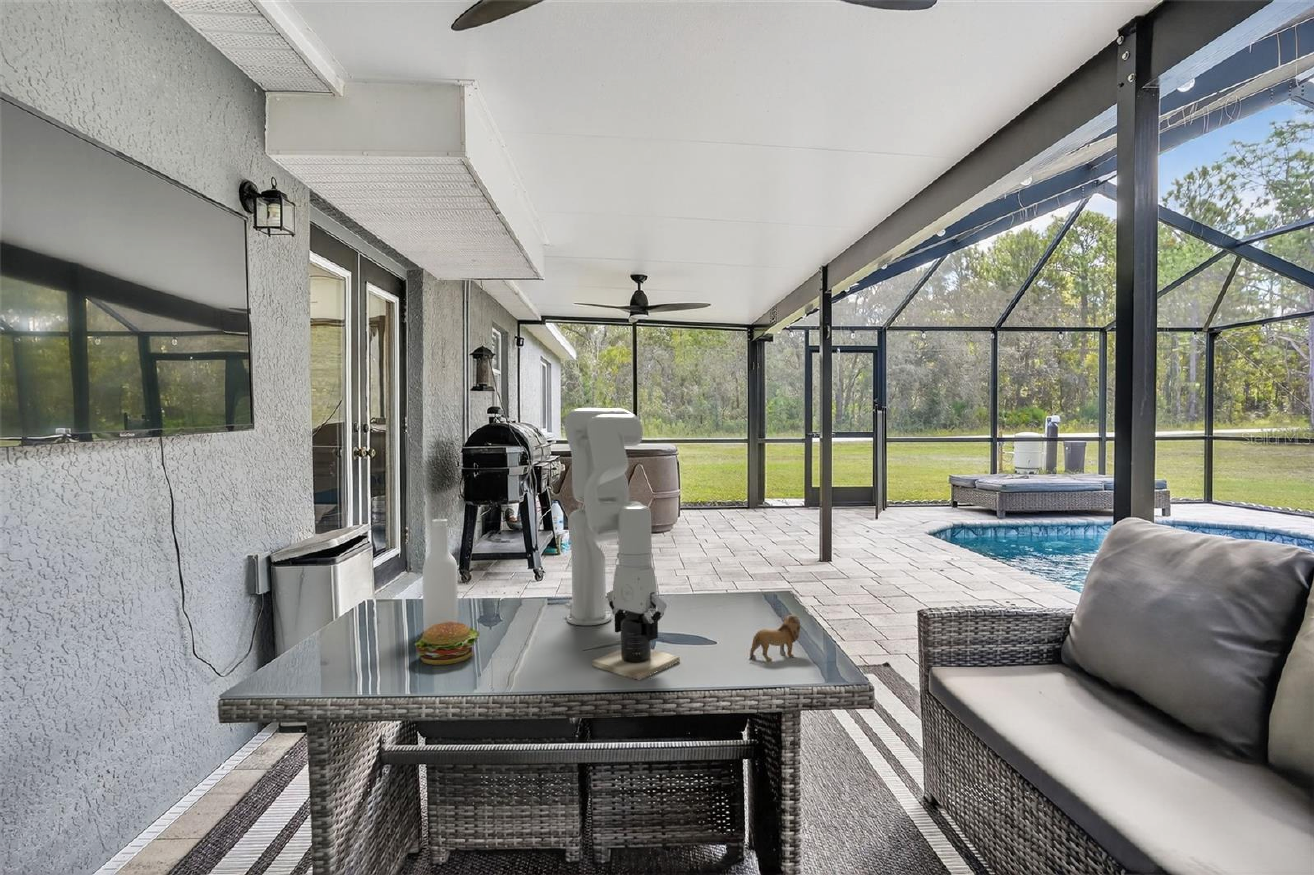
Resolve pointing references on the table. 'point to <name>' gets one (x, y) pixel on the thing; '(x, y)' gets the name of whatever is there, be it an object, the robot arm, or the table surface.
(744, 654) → the table surface
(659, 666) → the birch board
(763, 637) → the lion figurine
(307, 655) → the table surface
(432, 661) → the food
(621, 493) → the robot arm
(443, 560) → the alcohol
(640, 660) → the supplement bottle
